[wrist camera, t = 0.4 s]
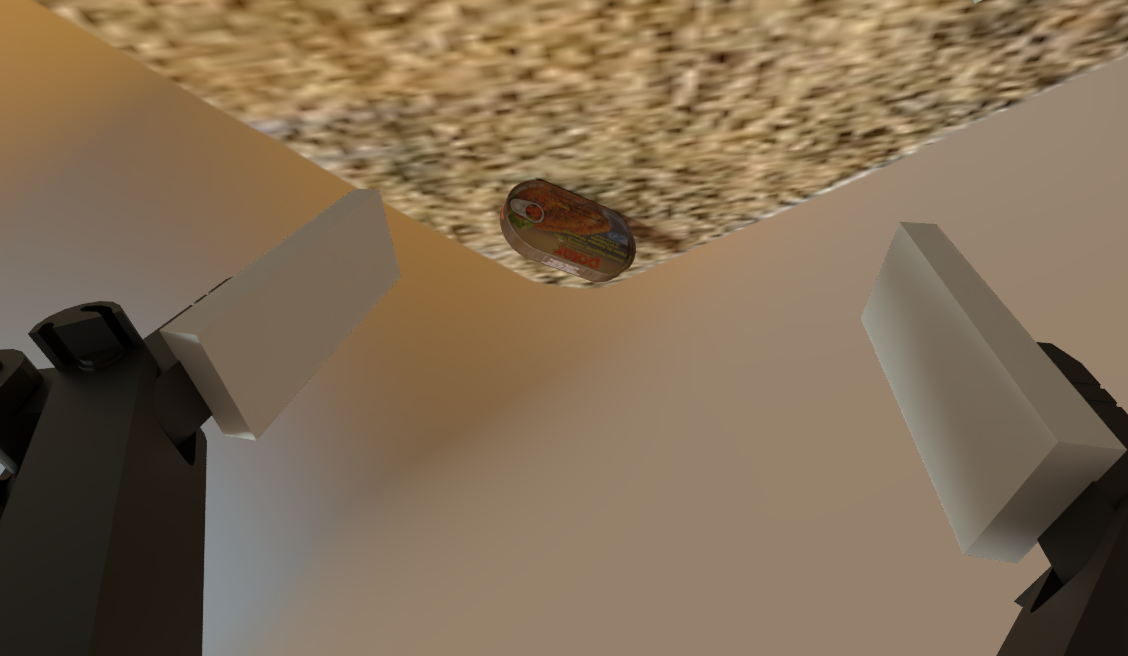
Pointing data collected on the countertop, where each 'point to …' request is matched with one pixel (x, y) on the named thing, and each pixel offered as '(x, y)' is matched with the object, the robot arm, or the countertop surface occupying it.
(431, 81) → the countertop surface
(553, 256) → the tin
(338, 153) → the countertop surface
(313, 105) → the countertop surface
